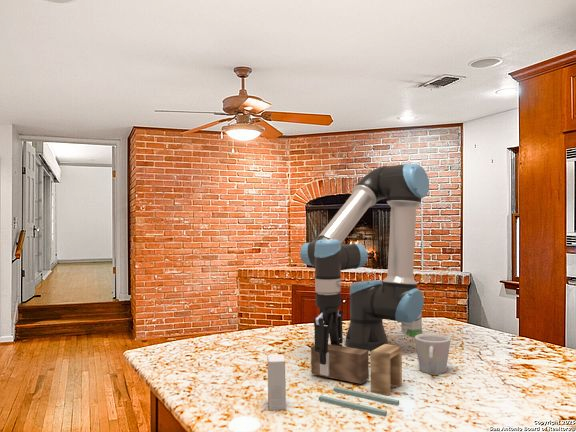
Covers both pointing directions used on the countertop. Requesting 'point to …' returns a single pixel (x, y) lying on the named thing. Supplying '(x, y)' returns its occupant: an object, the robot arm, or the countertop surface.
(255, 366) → the countertop surface
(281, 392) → the skincare box
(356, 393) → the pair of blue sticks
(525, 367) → the countertop surface
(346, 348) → the brown wooden block
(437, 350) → the mug
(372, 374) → the wooden arch block
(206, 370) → the countertop surface
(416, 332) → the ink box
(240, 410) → the countertop surface
